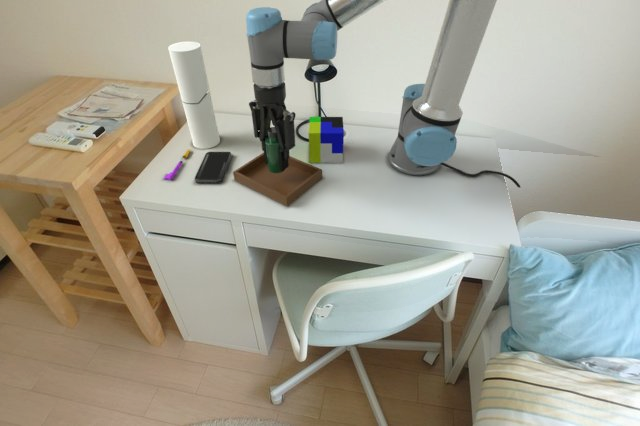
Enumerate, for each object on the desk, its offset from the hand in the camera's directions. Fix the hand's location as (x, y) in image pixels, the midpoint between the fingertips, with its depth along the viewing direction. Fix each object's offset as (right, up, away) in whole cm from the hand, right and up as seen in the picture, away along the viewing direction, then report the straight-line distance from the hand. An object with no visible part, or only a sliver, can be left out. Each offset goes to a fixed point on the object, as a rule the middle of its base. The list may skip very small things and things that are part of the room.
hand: (276, 164), depth 104 cm
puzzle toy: (+14, +5, +14) cm, 20 cm away
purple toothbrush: (-31, +1, +9) cm, 32 cm away
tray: (0, -4, +3) cm, 5 cm away
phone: (-19, 0, +8) cm, 21 cm away
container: (-25, +10, +20) cm, 33 cm away
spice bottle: (0, -1, +1) cm, 1 cm away
